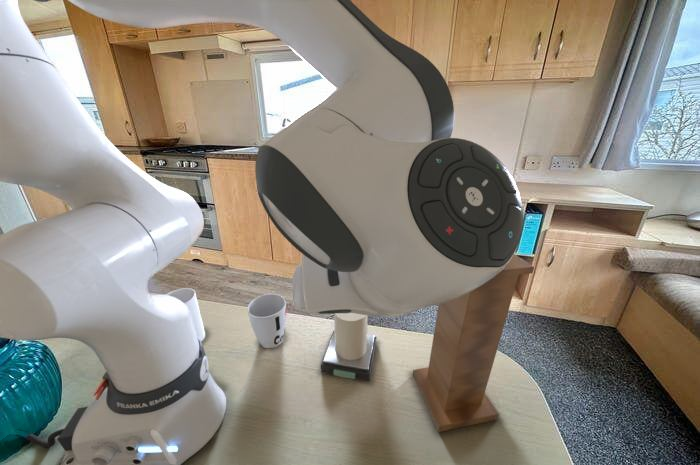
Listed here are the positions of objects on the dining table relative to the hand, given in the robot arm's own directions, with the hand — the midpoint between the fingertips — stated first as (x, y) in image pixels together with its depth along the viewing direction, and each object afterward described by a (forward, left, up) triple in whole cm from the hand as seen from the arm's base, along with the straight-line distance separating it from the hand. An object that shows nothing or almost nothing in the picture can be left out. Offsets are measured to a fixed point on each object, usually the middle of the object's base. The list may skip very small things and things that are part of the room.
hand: (364, 293), depth 41 cm
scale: (0, +10, -24) cm, 26 cm away
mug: (-36, +21, -24) cm, 48 cm away
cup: (-17, +19, -24) cm, 35 cm away
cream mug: (0, +12, -21) cm, 24 cm away
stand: (+17, -2, -24) cm, 29 cm away
